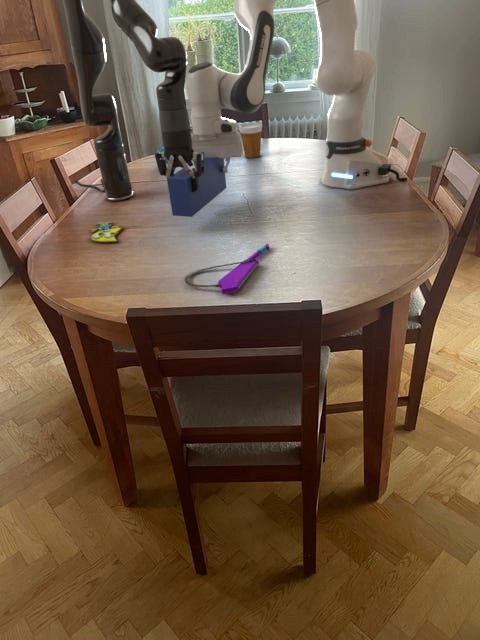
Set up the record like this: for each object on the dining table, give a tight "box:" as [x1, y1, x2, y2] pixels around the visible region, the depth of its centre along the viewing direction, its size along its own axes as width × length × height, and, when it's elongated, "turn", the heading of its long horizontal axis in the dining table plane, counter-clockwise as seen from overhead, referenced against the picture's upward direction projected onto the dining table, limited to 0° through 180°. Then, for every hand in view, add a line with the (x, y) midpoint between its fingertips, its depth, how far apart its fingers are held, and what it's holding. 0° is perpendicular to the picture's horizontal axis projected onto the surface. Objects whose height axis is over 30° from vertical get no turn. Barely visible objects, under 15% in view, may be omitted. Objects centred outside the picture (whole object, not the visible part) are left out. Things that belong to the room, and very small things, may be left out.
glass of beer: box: [238, 123, 263, 159], centre depth 199 cm, size 10×10×12 cm
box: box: [166, 158, 227, 218], centre depth 141 cm, size 26×6×10 cm, turn 159°
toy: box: [90, 221, 124, 244], centre depth 141 cm, size 10×1×15 cm
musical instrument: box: [184, 243, 270, 295], centre depth 114 cm, size 24×2×20 cm
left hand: (184, 190), depth 133 cm, fingers closed on box, 6 cm apart
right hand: (212, 173), depth 148 cm, fingers closed on box, 7 cm apart
